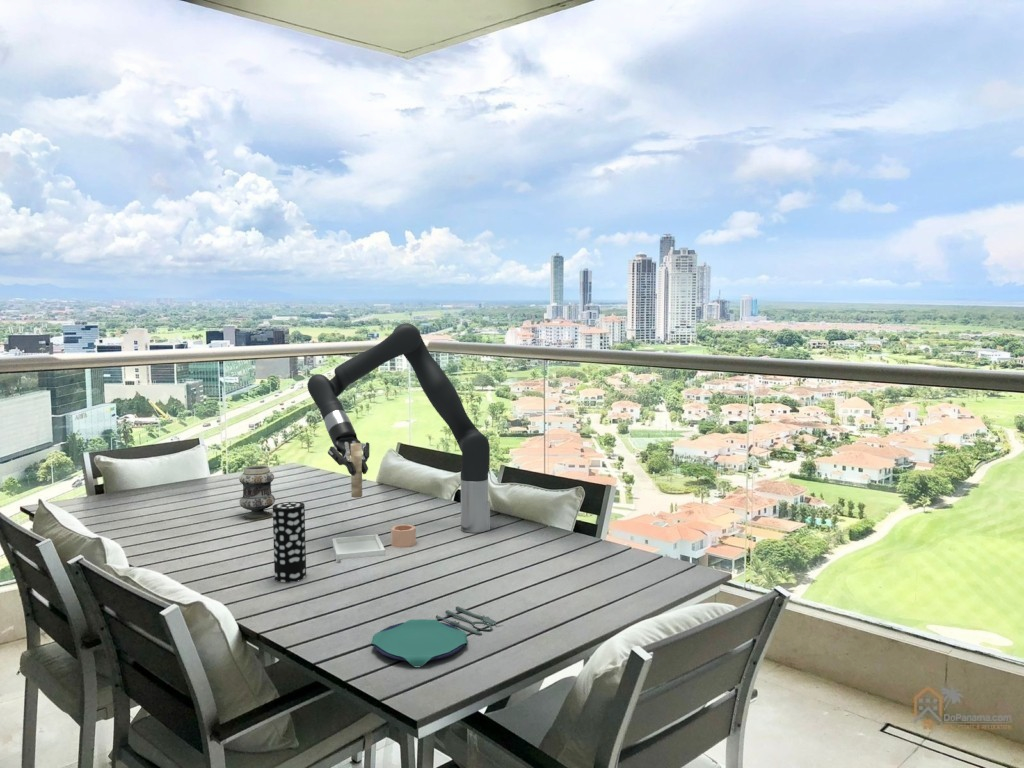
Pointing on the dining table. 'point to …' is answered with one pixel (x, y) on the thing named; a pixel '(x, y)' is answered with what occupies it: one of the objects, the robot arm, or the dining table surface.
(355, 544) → the tray
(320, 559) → the dining table surface
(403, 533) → the holder cup
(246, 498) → the apothecary jar
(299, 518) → the spotted tube
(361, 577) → the dining table surface
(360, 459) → the wooden pin
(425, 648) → the cutlery set
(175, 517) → the dining table surface
